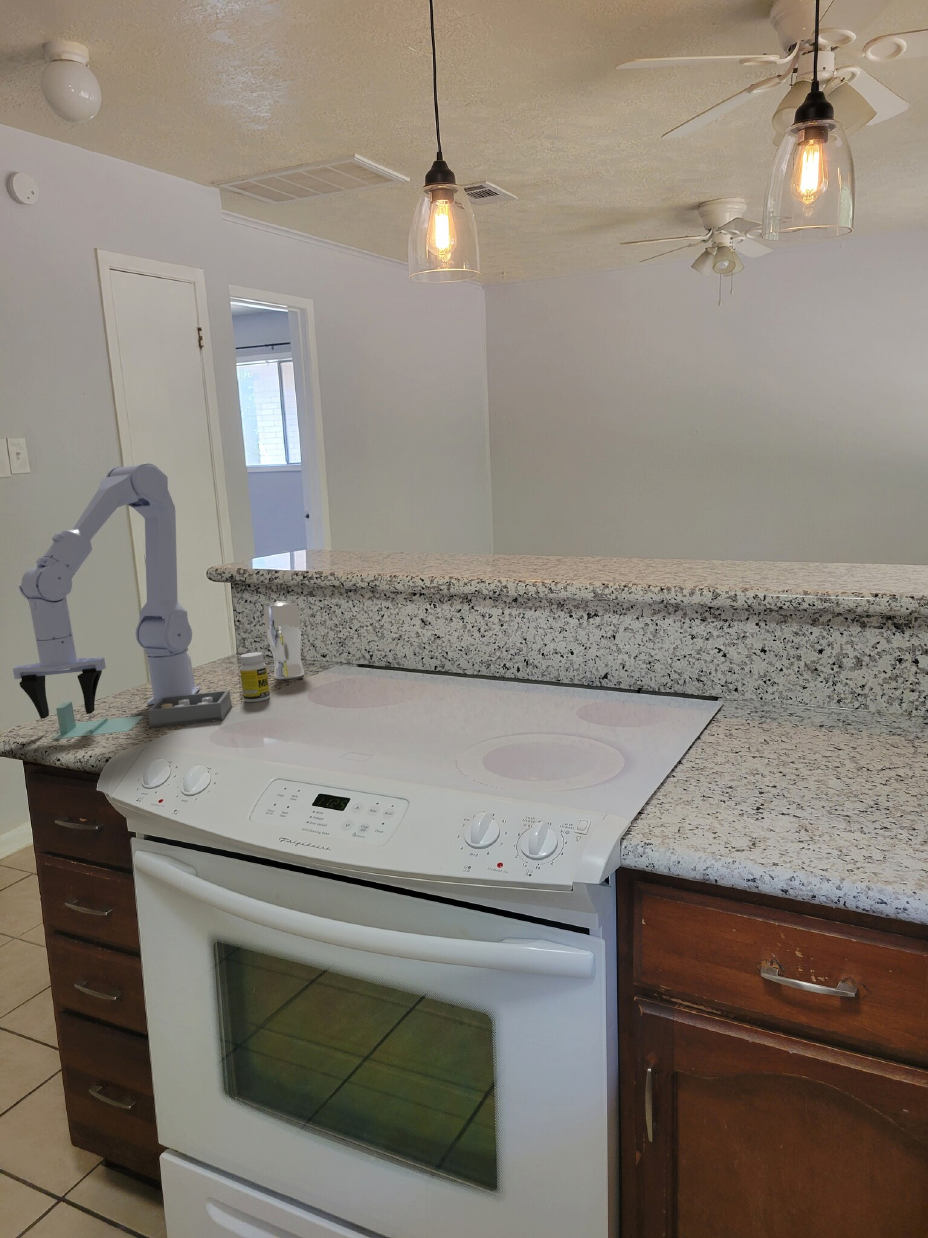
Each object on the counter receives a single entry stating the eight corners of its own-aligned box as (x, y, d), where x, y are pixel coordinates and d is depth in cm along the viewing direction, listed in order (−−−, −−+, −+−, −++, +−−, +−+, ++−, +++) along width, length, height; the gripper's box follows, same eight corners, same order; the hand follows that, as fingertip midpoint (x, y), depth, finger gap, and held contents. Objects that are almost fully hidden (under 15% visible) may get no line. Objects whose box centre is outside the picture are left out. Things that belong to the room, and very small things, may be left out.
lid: (72, 726, 157) (67, 698, 156) (144, 718, 158) (140, 691, 157) (51, 742, 147) (46, 713, 146) (128, 733, 148) (124, 704, 147)
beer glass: (296, 670, 184) (287, 599, 181) (313, 674, 178) (304, 601, 176) (266, 677, 179) (256, 604, 177) (282, 682, 174) (272, 607, 172)
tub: (163, 713, 157) (161, 697, 157) (231, 706, 158) (229, 690, 158) (150, 727, 149) (147, 710, 148) (222, 720, 149) (219, 703, 149)
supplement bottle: (263, 702, 159) (257, 656, 158) (239, 703, 160) (233, 658, 159) (274, 695, 164) (268, 651, 162) (250, 696, 165) (245, 652, 163)
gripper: (0, 646, 145) (14, 726, 147) (90, 637, 146) (103, 716, 148) (17, 638, 152) (31, 714, 154) (104, 629, 153) (116, 705, 155)
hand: (67, 714), depth 152 cm, fingers open, 7 cm apart
